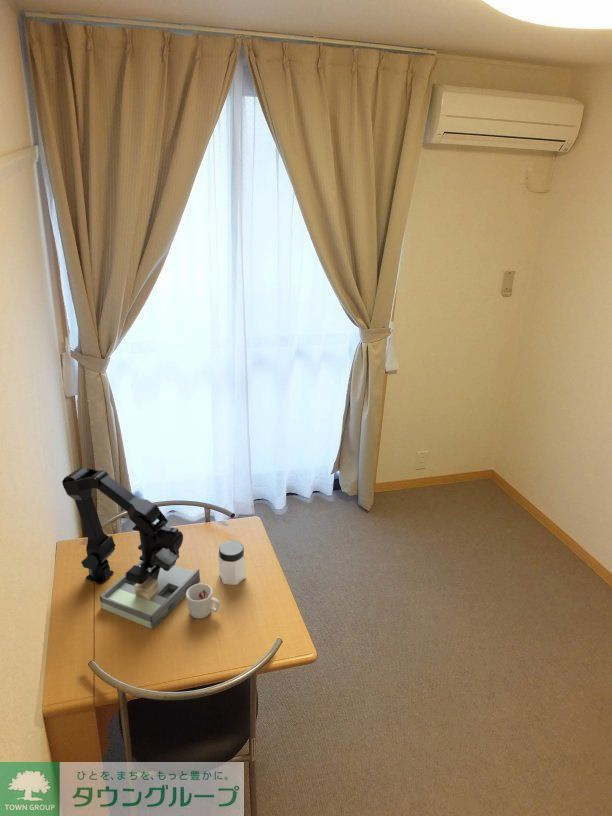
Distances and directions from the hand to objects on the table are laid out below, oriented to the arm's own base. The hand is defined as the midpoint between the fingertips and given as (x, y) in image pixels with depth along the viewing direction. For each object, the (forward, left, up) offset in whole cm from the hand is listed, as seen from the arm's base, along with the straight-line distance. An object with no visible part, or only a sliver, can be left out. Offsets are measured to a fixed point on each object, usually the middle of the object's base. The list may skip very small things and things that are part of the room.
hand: (154, 581), depth 175 cm
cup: (+20, -2, -4) cm, 20 cm away
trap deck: (0, -2, -4) cm, 4 cm away
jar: (+19, +16, -4) cm, 25 cm away
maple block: (0, -4, -1) cm, 4 cm away
